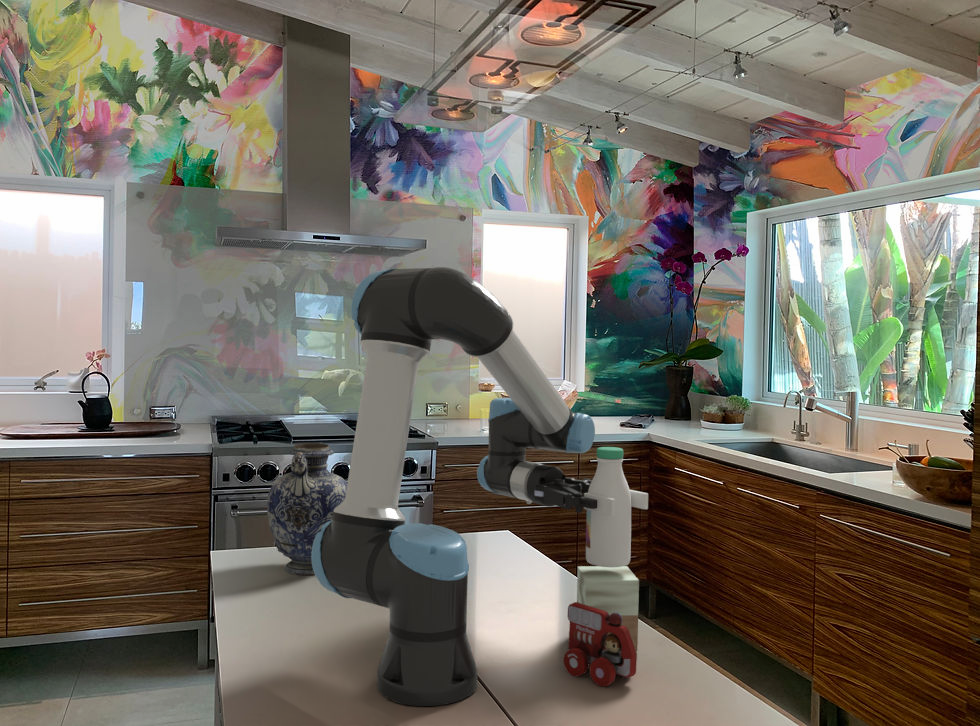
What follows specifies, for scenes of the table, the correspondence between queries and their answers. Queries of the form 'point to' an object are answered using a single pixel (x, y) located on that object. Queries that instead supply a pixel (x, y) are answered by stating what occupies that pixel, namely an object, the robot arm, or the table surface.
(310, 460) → the decorative vase
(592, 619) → the toy fire truck
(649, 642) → the table surface
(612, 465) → the milk bottle
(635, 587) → the tower stack
